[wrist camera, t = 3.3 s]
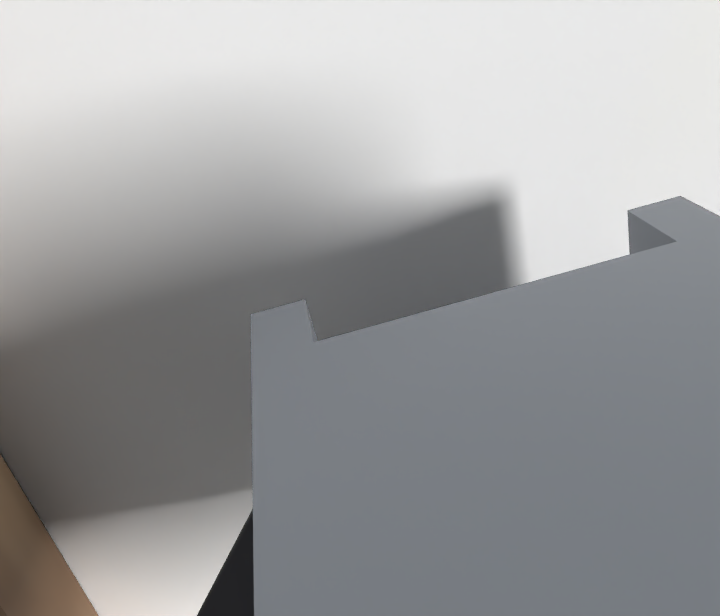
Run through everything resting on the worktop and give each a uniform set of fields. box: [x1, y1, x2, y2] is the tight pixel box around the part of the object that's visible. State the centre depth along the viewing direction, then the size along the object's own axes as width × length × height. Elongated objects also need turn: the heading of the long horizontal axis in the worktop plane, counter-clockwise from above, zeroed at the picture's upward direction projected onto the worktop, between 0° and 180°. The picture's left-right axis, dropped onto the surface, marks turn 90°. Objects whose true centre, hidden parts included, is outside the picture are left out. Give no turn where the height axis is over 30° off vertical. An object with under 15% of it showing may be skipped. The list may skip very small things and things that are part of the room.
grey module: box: [251, 196, 720, 616], centre depth 7 cm, size 4×6×6 cm
